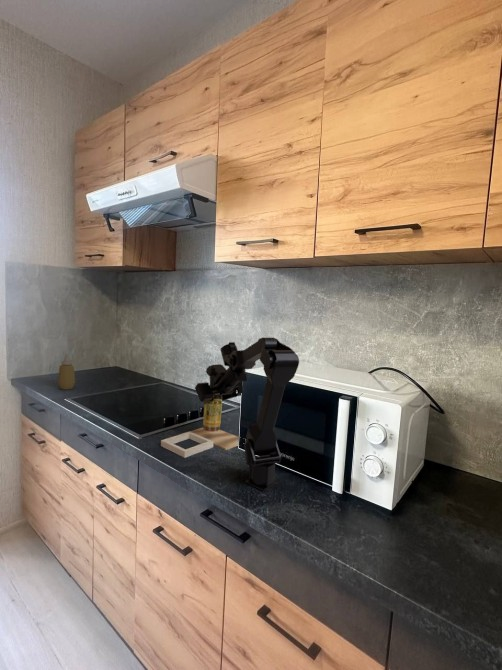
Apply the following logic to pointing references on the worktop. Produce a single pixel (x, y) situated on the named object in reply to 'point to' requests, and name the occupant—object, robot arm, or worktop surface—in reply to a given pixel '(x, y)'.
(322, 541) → the worktop surface
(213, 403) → the sauce bottle
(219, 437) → the wooden board
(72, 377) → the squeeze bottle
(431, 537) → the worktop surface
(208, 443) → the collar
